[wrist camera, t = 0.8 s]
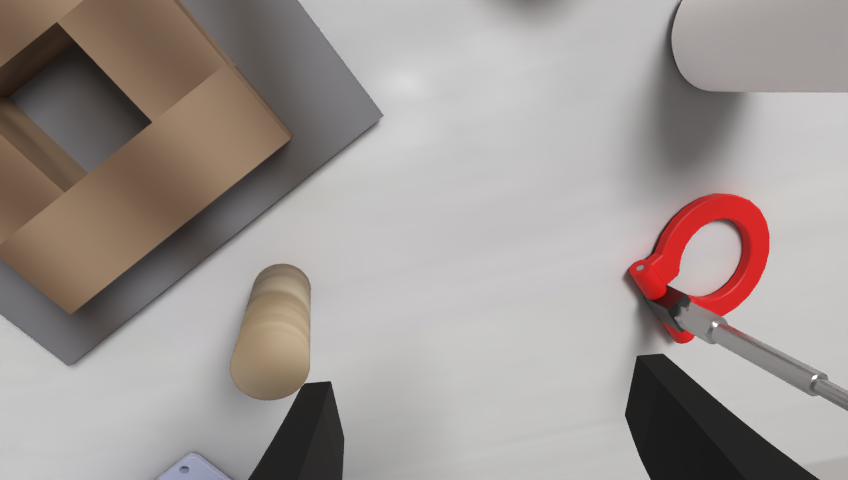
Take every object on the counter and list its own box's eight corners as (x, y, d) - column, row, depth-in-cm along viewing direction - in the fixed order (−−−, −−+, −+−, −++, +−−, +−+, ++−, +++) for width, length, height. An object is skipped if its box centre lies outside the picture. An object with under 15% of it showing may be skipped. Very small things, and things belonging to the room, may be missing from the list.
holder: (77, 356, 26) (37, 402, 22) (-253, 98, 20) (-384, 100, 16) (381, 114, 25) (393, 119, 22) (133, -216, 20) (92, -287, 16)
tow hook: (725, 164, 31) (615, 261, 31) (998, 203, 19) (822, 361, 19) (771, 258, 34) (672, 346, 34) (1033, 341, 22) (881, 479, 22)
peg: (279, 325, 27) (267, 413, 20) (240, 287, 26) (212, 366, 19) (321, 292, 27) (325, 367, 20) (284, 252, 26) (274, 317, 19)
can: (657, -10, 27) (909, -83, 15) (760, -48, 27) (1075, -145, 16) (675, 107, 29) (907, 118, 18) (770, 70, 29) (1053, 57, 18)
